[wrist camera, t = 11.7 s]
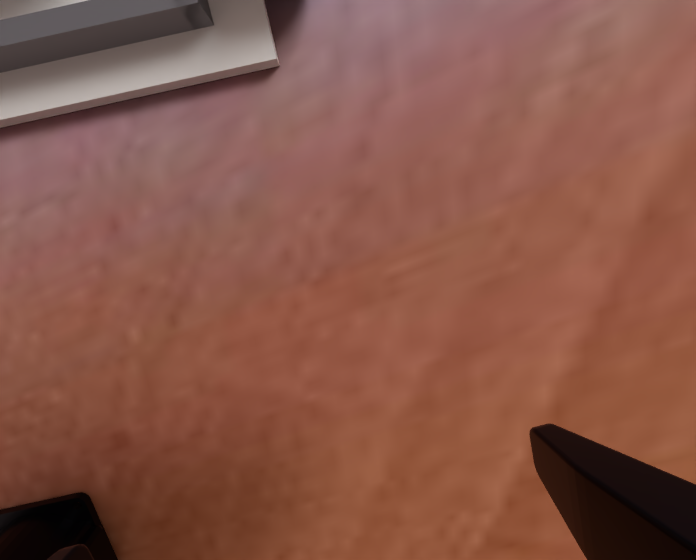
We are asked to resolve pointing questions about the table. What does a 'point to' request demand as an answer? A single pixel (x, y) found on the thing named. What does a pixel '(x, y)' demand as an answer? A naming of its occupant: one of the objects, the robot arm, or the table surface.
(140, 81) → the toy car chassis
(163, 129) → the table surface
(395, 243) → the table surface
